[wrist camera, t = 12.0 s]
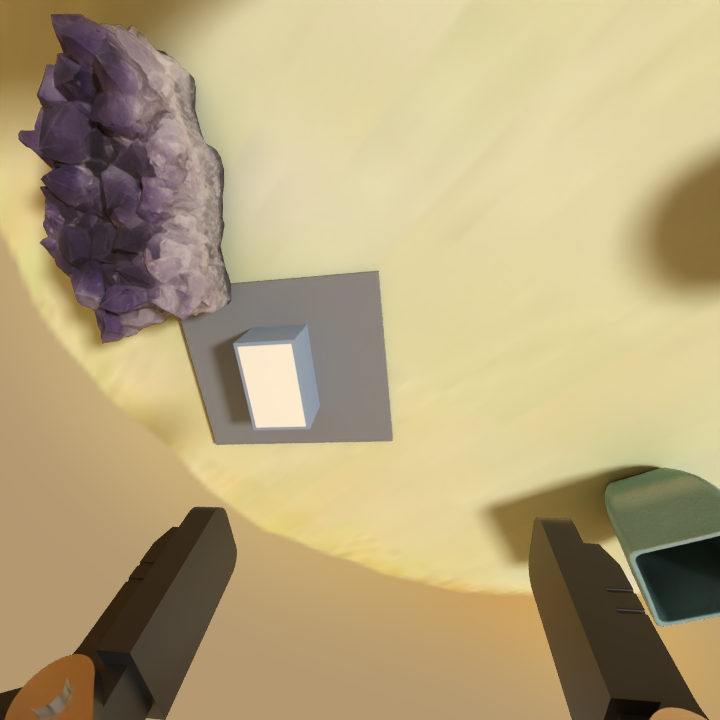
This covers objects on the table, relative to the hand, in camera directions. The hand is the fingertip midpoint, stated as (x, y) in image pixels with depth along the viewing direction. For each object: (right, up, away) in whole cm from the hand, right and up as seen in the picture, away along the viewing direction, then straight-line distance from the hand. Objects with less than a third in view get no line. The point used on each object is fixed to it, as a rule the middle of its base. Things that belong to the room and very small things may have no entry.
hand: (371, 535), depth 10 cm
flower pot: (+26, -8, +27) cm, 38 cm away
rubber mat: (-7, +4, +25) cm, 27 cm away
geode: (-16, +17, +21) cm, 31 cm away
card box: (-7, +4, +25) cm, 26 cm away
